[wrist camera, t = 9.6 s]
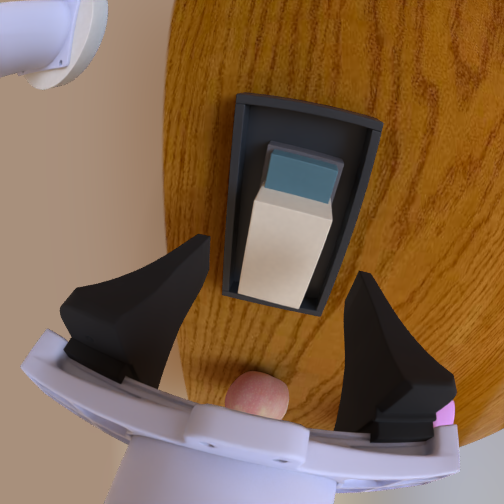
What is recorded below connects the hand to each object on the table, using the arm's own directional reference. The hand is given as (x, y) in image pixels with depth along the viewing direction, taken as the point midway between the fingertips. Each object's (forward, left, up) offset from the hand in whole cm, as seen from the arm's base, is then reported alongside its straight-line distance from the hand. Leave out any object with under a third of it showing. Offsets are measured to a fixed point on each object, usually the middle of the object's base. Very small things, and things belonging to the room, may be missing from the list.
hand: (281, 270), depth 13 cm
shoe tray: (0, -1, -8) cm, 8 cm away
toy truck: (0, -1, -8) cm, 8 cm away
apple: (+4, -24, -8) cm, 26 cm away
